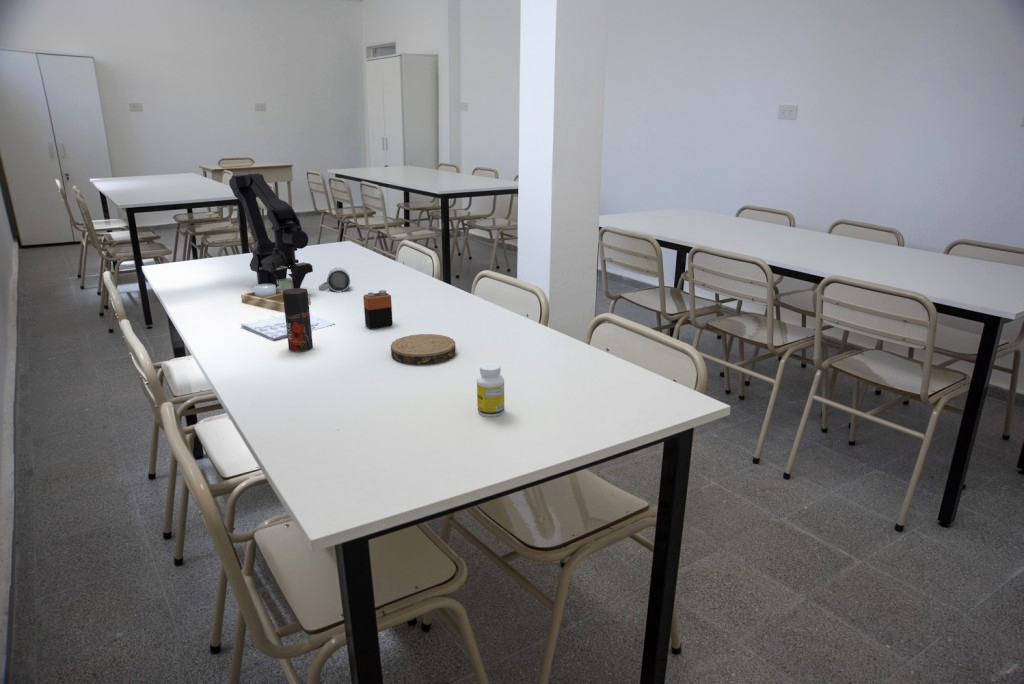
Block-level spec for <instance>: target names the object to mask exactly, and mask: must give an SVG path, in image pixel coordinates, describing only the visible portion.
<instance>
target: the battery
mask: <svg viewBox="0 0 1024 684" xmlns="http://www.w3.org/2000/svg"><path fill="white" fill-rule="evenodd" d="M362 299H363V310H364V323H365V327H367V328H368V329H369V330H375V329H376V330H377V329H381V328H383V329H384V328H389V327H392V326H393V325H394V324H393V322H394V321H393V309H392V306H393V305H392V295H391V294H390V293H387V290H385V289H381V290H378V292H377V293H376V292H375V293H374V292H372V291H371V292H368V293H367V294H364V295H363V298H362Z"/></svg>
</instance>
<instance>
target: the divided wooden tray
mask: <svg viewBox="0 0 1024 684" xmlns="http://www.w3.org/2000/svg"><path fill="white" fill-rule="evenodd" d="M240 298H241V303H243V304H247V305H251V306H256V307H259V308H264V309H268V310H272V311H276V312H280V313H281V312H282V313H285V309H284V300H283V291H281V290H279V289H276V295H274V296H270V297H266V298H259V297H255V291H250V292H247V293H242V294H240ZM308 302H309V306H310V305H311V304H312V303H311V296H309V295H308Z"/></svg>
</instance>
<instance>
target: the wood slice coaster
mask: <svg viewBox="0 0 1024 684" xmlns="http://www.w3.org/2000/svg"><path fill="white" fill-rule="evenodd" d="M456 353H457V352H456V341H455V340H454V339H453V338H451V337H450V336H447V335H443V334H434V333H421V334H420V333H419V334H412V335H407V336H406V335H405V336H403V337H399V338H397V339H395V340H394V341H392V342H391V344H390V354H391V355H390V356H391V358H392V360H393V361H396V362H397V363H400V364H403V365H412V366H428V365H437V364H441V363H445V362H447V361H449V360H451V359H454V357H455V355H456Z"/></svg>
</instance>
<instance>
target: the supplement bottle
mask: <svg viewBox="0 0 1024 684" xmlns="http://www.w3.org/2000/svg"><path fill="white" fill-rule="evenodd" d="M479 373H480V375H478V377H477V379H476V394H477V395H476V397H477V399H476V400H477V402H476V404H477V412H478V414H479V415H481V416H482V417H485V418H486V417H488V418H494V417H499V416H501V415H503V414H504V412H505V378H504V376H503V375H501V365H500V364H498V363H496V362H487V363H483V364H481V365H480V366H479Z"/></svg>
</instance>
